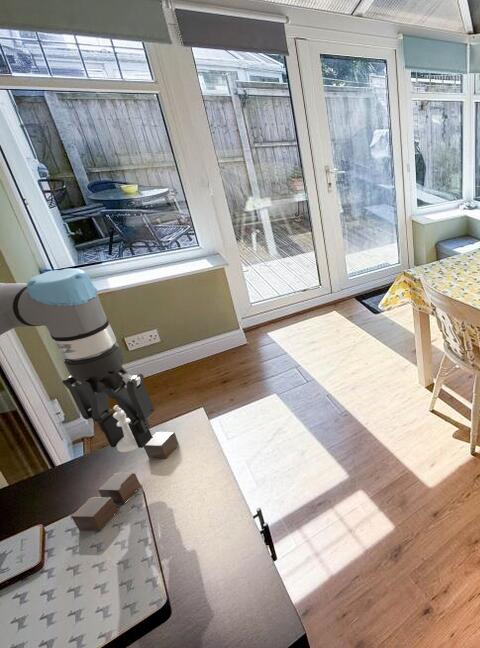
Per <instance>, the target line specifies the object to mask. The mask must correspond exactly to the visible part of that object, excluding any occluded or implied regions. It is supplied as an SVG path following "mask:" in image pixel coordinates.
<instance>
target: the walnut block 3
mask: <svg viewBox="0 0 480 648" xmlns="http://www.w3.org/2000/svg"><path fill="white" fill-rule="evenodd" d="M152 437H153V438H152V439H151V440H150V441H149V442H148V443H147V444H146V445H145V446H144V447H143V449H144V451H145V453H146V455H147V458H148V459H159V460H160V459H161V460H164V459H165V460H167V459H168V458H169V457H170V456H171V455H172V453H173V452H174V451H175V450H176V449H177V448H178V447H179V445H180V443H179V441H178V438H177V435H176V433H175V431H156V432H155V433H154V434H153V435H152Z"/></svg>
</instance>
